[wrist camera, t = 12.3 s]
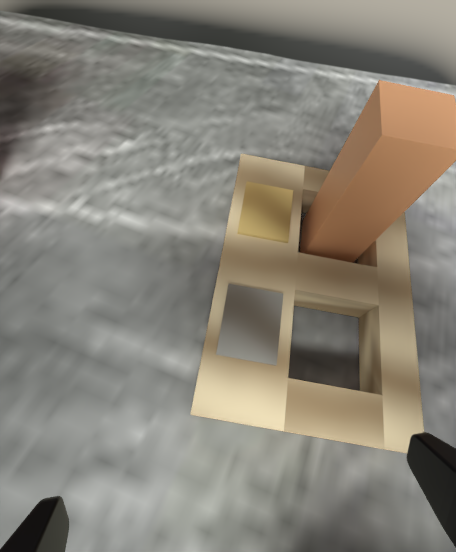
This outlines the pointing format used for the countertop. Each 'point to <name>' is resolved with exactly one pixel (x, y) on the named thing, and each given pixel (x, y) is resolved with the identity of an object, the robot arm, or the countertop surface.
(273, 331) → the socket plate
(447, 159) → the plug
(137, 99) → the countertop surface
